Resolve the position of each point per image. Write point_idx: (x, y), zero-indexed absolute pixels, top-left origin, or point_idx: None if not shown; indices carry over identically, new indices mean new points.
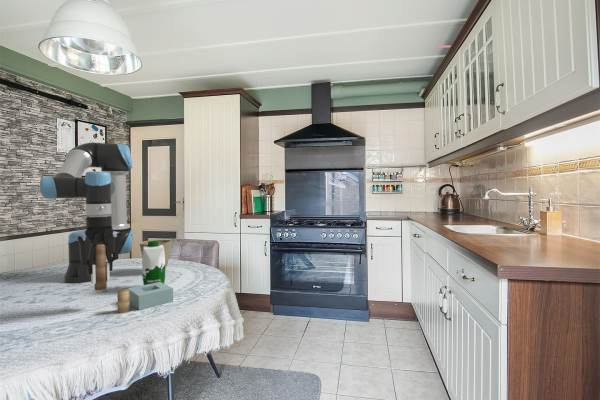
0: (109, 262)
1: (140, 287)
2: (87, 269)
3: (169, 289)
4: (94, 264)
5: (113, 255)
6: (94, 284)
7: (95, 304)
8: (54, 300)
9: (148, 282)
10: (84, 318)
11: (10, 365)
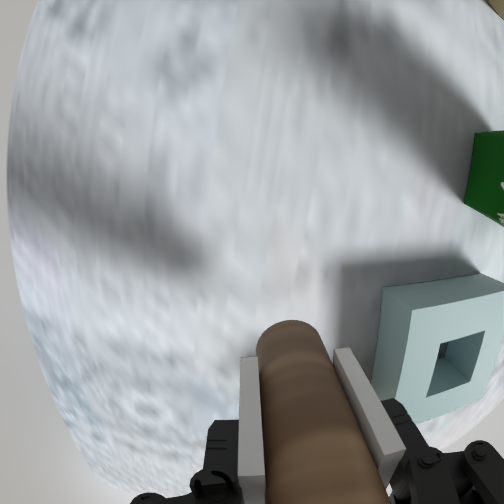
0: (395, 479)
1: (447, 330)
2: (205, 450)
3: (472, 401)
4: (265, 500)
5: (472, 480)
6: (258, 363)
7: (268, 223)
8: (134, 38)
9: (499, 218)
10: (206, 372)
11: (98, 475)
